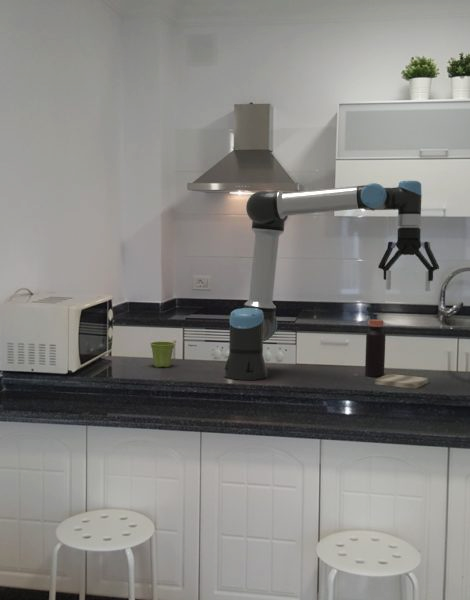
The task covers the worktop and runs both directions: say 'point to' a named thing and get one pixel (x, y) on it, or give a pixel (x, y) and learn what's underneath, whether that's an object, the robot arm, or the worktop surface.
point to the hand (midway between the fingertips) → (407, 290)
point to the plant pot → (162, 353)
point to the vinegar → (375, 349)
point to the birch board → (401, 381)
